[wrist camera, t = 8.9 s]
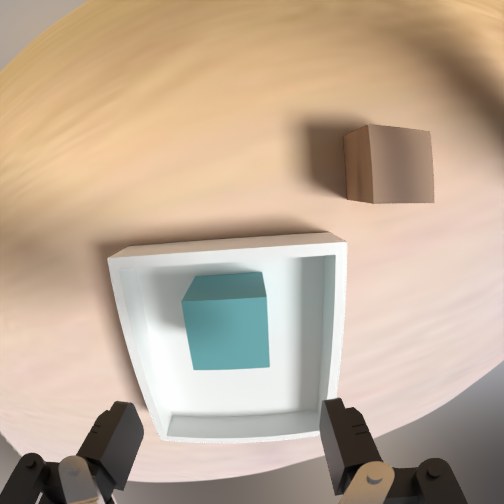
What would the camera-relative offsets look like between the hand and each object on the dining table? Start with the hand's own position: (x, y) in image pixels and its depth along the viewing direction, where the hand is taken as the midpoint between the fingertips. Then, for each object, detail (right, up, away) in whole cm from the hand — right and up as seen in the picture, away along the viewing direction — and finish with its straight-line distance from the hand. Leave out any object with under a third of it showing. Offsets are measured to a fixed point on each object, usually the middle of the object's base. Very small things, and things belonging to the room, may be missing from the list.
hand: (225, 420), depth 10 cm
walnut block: (+11, +14, +10) cm, 20 cm away
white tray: (0, -1, +13) cm, 13 cm away
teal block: (0, +3, +11) cm, 12 cm away
